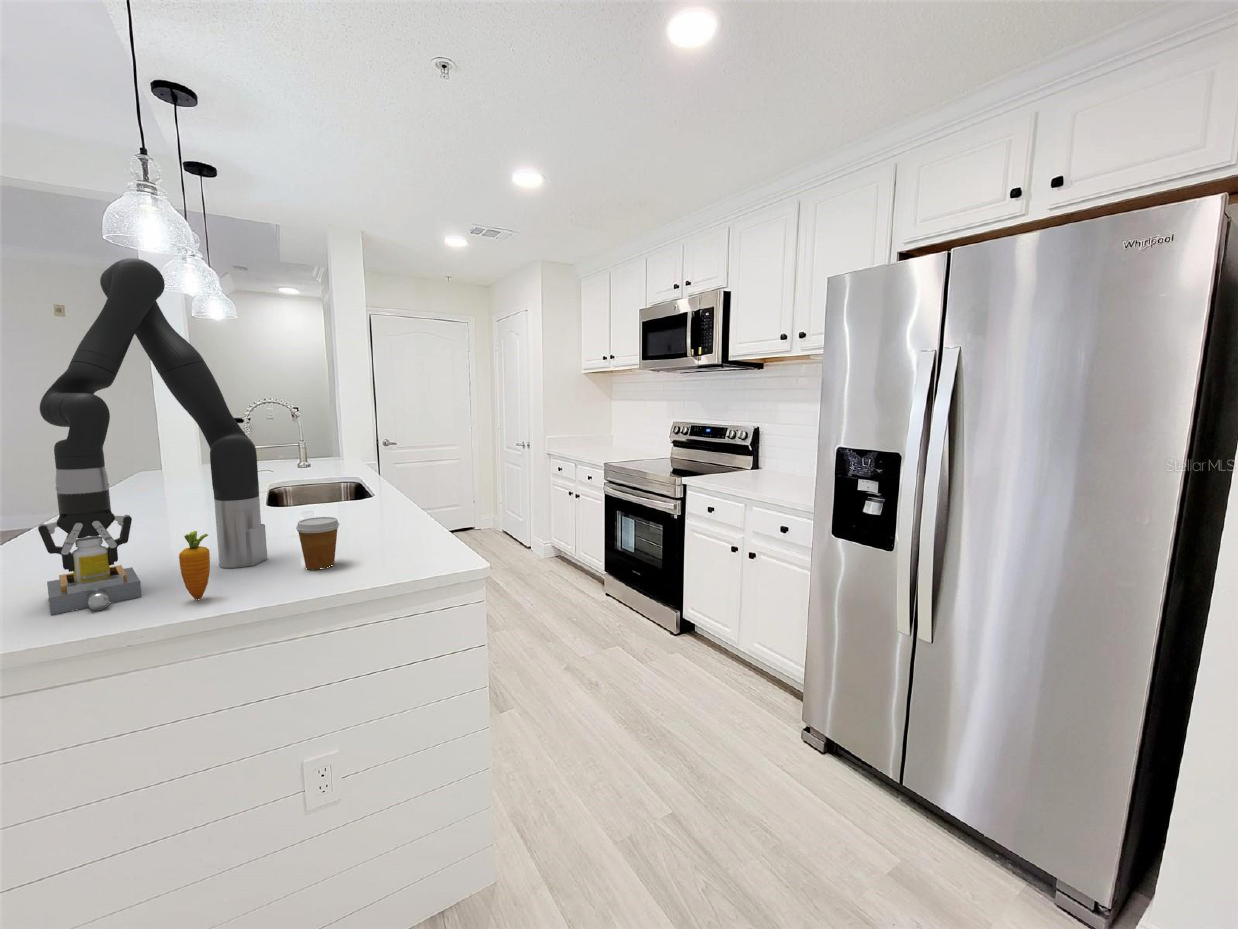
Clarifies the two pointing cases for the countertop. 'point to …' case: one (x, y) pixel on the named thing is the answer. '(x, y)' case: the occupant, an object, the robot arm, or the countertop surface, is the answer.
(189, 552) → the carrot
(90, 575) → the supplement bottle
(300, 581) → the countertop surface
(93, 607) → the grey drawer
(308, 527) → the disposable coffee cup
